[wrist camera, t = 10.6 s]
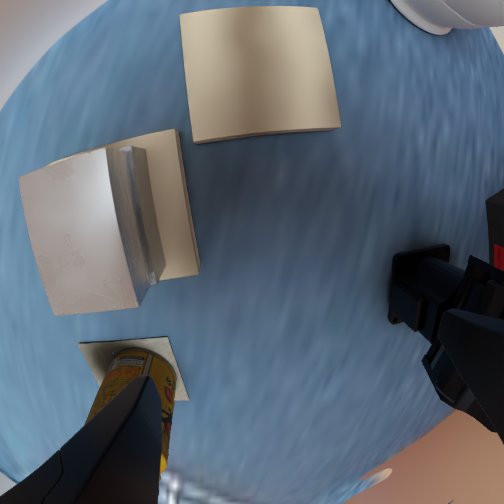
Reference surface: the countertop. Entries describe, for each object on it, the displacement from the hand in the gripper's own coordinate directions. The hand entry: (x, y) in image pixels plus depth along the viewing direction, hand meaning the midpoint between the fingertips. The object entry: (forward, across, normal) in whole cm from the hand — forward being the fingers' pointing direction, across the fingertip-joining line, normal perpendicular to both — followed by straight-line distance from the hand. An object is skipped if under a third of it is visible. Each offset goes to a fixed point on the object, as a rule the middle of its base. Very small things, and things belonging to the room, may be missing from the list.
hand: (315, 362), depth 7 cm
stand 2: (+13, -2, -12) cm, 17 cm away
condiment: (+13, +12, +10) cm, 21 cm away
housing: (+11, +8, -4) cm, 14 cm away
